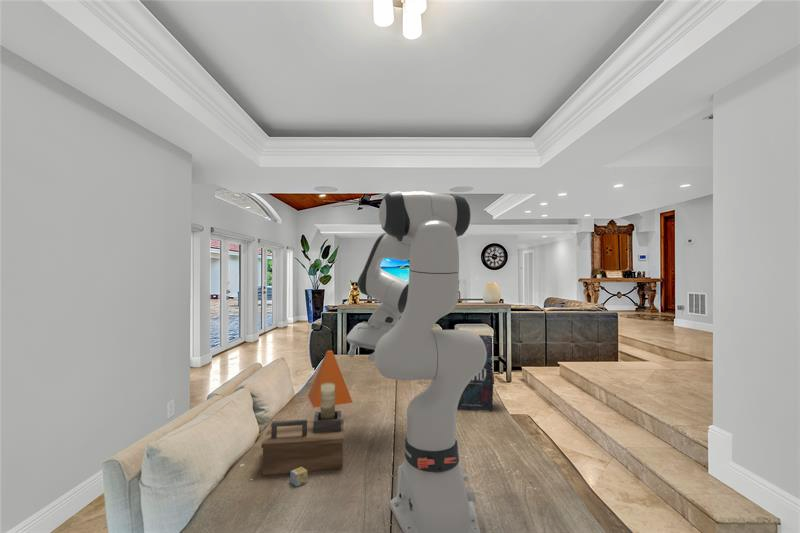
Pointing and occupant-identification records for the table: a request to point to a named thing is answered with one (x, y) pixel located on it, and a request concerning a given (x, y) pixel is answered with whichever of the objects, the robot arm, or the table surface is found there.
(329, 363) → the pyramid
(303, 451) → the toolbox
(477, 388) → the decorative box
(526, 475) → the table surface
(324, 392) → the dowel key
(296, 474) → the alphabet block
